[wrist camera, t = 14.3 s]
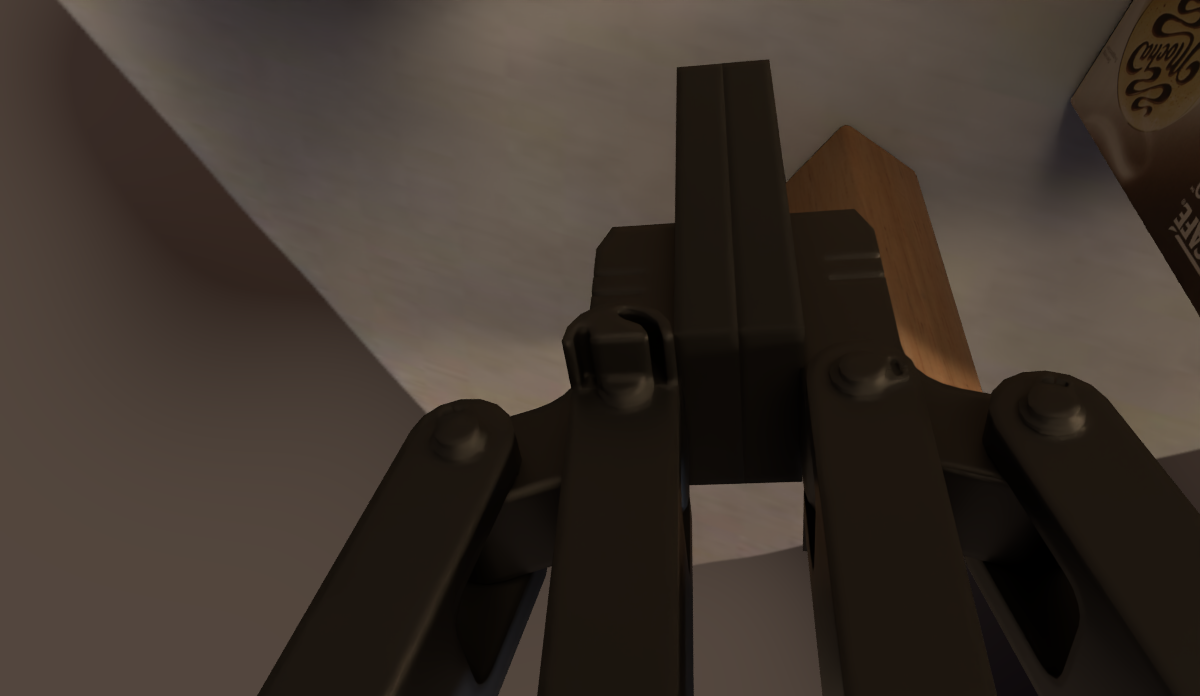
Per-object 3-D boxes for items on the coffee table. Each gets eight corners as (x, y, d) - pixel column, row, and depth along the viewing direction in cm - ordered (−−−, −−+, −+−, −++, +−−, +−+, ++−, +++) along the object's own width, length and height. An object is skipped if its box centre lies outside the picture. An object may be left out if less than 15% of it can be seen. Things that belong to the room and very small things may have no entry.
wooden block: (785, 293, 51) (820, 602, 37) (715, 250, 49) (725, 556, 36) (918, 170, 45) (1014, 478, 32) (844, 117, 44) (912, 419, 31)
